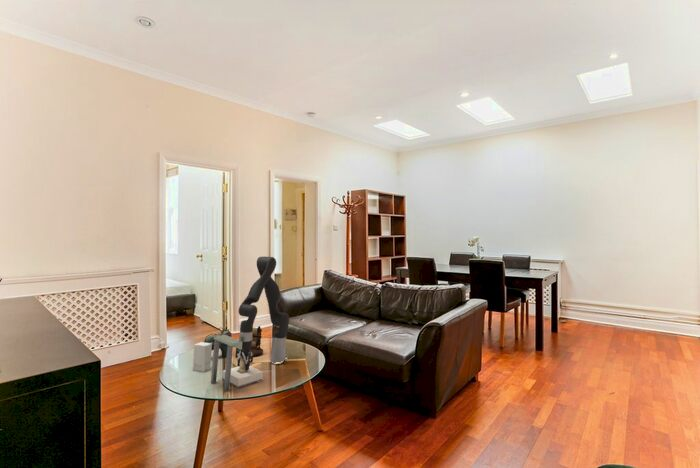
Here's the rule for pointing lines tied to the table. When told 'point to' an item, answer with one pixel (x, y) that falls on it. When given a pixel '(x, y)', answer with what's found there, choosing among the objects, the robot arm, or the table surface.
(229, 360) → the twin post stand
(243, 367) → the peg
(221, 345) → the ceramic cat
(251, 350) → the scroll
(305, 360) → the table surface
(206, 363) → the skincare box
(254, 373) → the socket block
